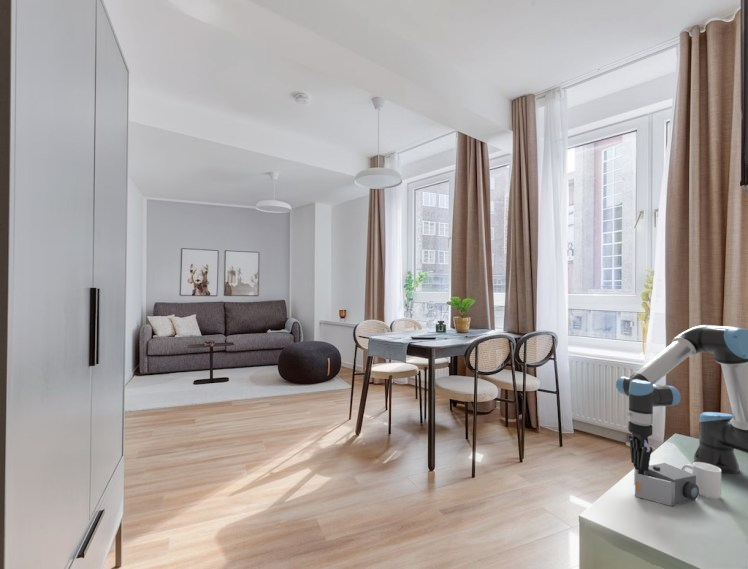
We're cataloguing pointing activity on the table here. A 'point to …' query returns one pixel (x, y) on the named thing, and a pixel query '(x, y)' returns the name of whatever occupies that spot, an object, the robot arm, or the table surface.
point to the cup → (706, 479)
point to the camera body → (676, 481)
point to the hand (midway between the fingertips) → (639, 486)
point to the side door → (655, 489)
